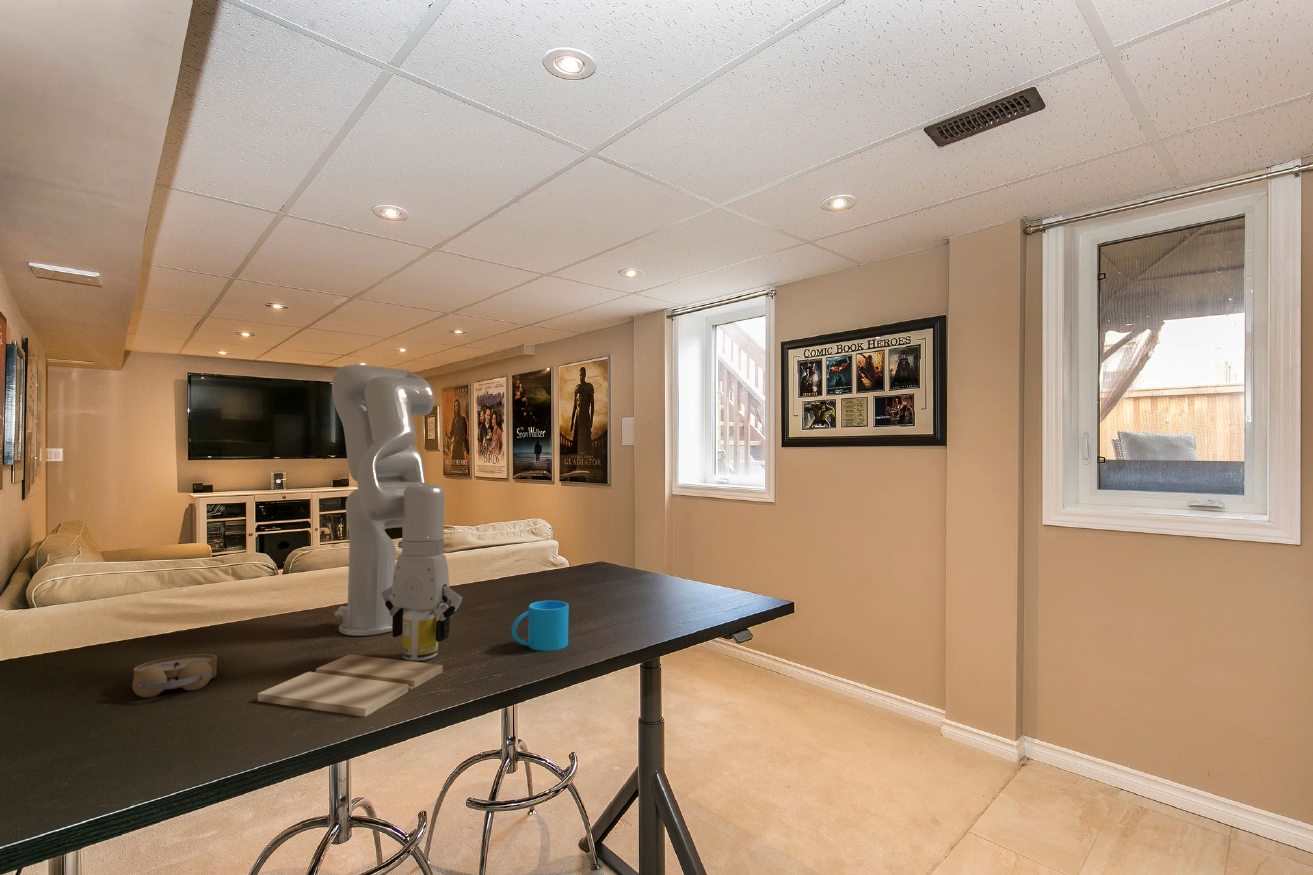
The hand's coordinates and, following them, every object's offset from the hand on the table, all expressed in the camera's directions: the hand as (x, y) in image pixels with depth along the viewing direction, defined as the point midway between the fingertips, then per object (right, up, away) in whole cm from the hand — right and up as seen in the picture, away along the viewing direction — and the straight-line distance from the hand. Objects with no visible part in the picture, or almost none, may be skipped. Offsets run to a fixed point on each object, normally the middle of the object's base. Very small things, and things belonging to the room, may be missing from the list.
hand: (420, 637), depth 118 cm
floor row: (-4, -3, -10) cm, 11 cm away
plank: (-6, -3, -20) cm, 21 cm away
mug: (+22, -5, +8) cm, 23 cm away
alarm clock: (-35, -3, -16) cm, 39 cm away
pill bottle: (0, -4, 0) cm, 4 cm away
